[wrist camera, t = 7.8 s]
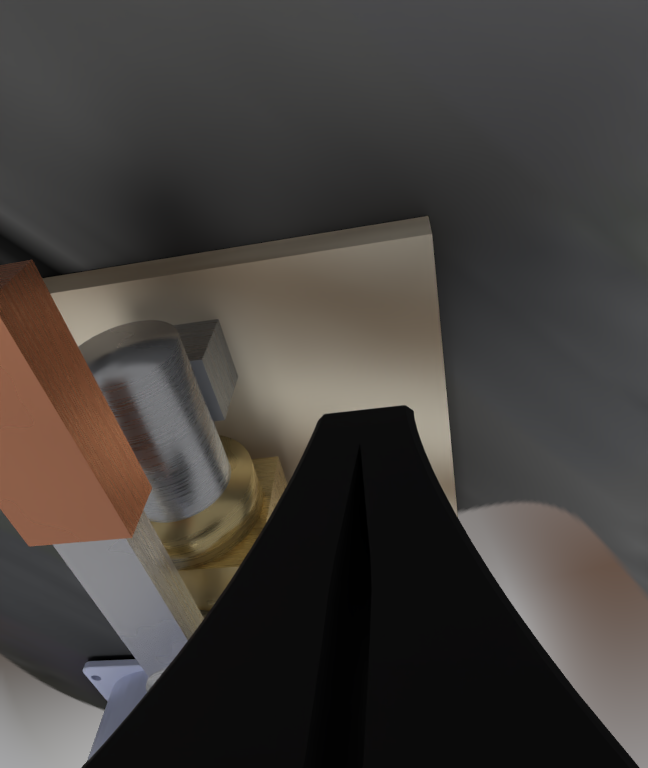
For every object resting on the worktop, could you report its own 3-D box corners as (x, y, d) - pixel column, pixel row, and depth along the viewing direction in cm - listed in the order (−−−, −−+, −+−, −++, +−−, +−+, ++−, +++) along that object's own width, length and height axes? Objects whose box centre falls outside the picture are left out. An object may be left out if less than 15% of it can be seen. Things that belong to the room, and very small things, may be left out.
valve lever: (248, 670, 17) (240, 718, 16) (175, 672, 17) (162, 720, 16) (31, 259, 9) (-11, 299, 8) (-88, 280, 10) (-143, 321, 9)
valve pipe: (334, 607, 24) (326, 750, 20) (232, 613, 25) (203, 752, 21) (232, 283, 16) (179, 412, 11) (81, 305, 16) (-23, 435, 12)
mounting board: (462, 581, 25) (465, 607, 24) (171, 599, 27) (164, 623, 26) (428, 215, 15) (432, 234, 14) (-11, 286, 18) (-33, 306, 17)
